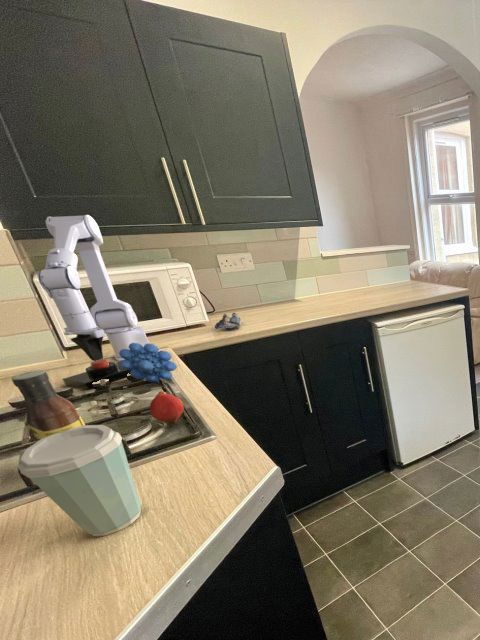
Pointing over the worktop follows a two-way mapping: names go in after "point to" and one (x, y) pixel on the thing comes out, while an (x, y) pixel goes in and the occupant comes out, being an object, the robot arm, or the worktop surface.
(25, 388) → the sauce bottle
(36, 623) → the worktop surface
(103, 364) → the button
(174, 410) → the onion
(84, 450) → the disposable coffee cup
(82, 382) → the switch box
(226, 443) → the worktop surface
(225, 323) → the blue grey figurine
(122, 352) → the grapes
